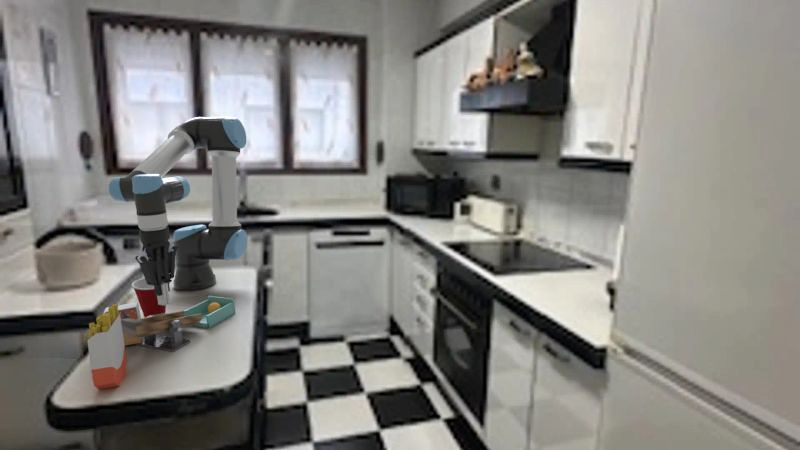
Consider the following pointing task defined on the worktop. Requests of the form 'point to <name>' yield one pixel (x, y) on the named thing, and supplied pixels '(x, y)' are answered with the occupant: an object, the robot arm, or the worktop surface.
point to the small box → (131, 313)
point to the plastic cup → (147, 298)
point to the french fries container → (107, 349)
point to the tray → (214, 317)
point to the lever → (156, 324)
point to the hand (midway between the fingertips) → (164, 303)
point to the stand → (166, 339)
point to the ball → (213, 307)
